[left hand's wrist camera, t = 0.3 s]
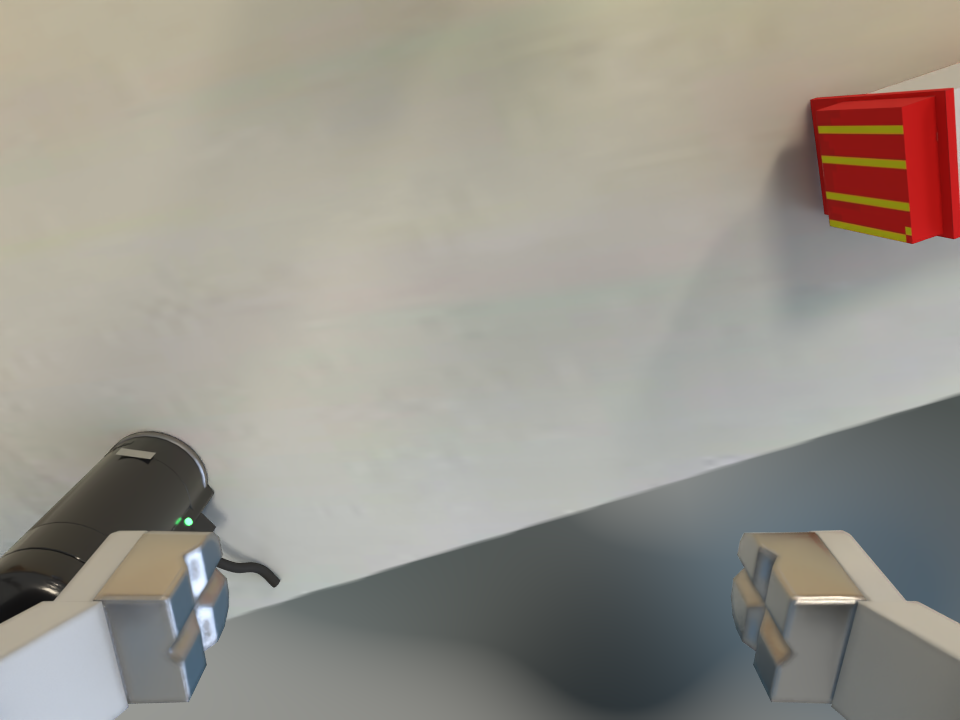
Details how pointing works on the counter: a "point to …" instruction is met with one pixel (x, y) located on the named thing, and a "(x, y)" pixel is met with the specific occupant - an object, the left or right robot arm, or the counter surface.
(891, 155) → the toy
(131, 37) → the counter surface
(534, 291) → the counter surface
